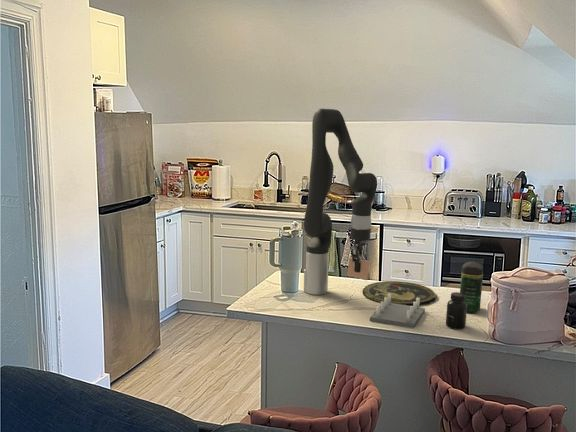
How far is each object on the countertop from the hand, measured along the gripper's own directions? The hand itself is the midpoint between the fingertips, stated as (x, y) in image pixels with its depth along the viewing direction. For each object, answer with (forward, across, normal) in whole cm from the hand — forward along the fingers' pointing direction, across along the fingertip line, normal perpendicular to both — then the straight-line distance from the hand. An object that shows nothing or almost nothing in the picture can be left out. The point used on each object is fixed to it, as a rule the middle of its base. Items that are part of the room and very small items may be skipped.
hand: (358, 271), depth 227 cm
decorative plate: (+16, -25, +10) cm, 31 cm away
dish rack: (+15, +1, +16) cm, 22 cm away
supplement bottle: (+15, +2, +37) cm, 40 cm away
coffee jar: (+15, -19, +39) cm, 46 cm away
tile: (+2, 0, 0) cm, 2 cm away
